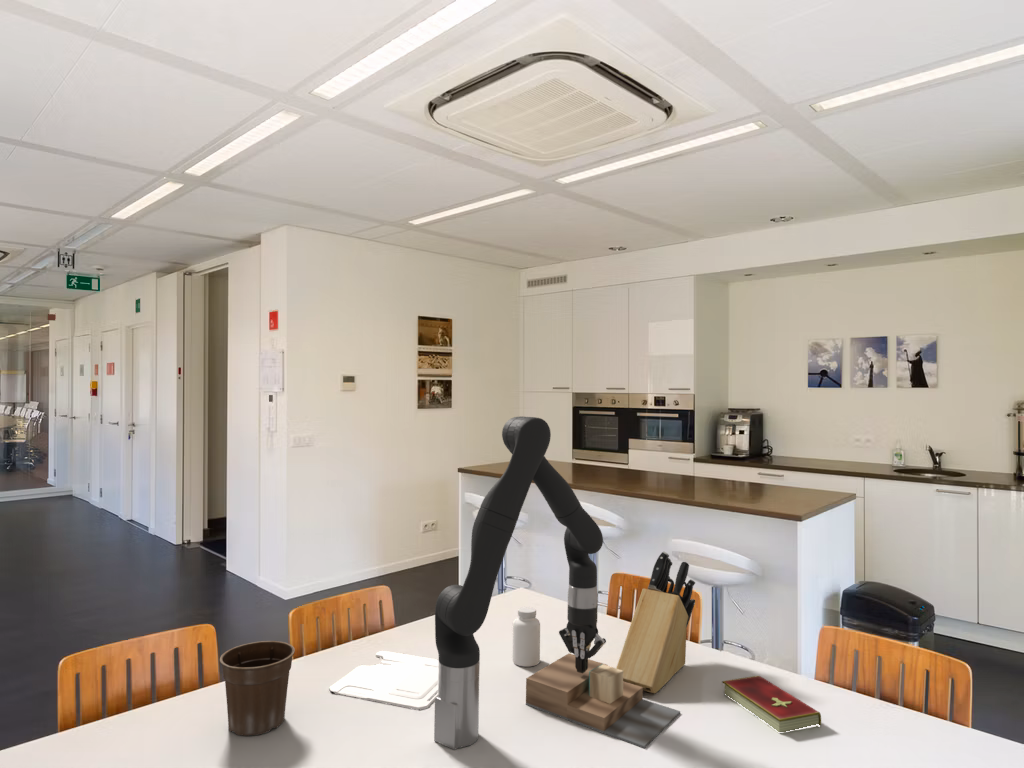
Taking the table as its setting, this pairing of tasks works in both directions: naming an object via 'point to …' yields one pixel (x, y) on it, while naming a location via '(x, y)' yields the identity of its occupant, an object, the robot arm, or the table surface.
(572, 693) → the walnut staircase
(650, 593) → the knife block
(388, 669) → the tray
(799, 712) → the hardcover book
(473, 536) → the robot arm
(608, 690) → the maple cube
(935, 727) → the table surface
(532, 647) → the pill bottle
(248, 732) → the plant pot
